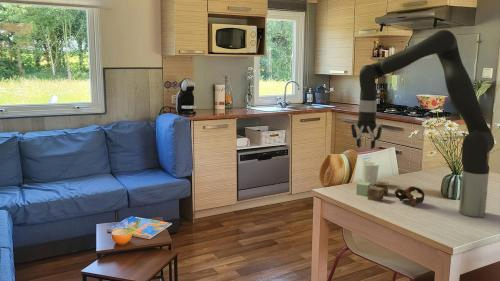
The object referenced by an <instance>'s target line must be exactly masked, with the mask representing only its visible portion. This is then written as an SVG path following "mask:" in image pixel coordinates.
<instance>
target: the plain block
mask: <svg viewBox="0 0 500 281" xmlns="http://www.w3.org/2000/svg"><path fill="white" fill-rule="evenodd" d="M370 187H372V185H371V183H367V182H362V181H361V180H360V181H359V182H357V183H356V190H355V191H356V192H355V194H356V195H357V196H364V197H368V188H370Z"/></svg>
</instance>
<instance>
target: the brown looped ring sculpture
mask: <svg viewBox="0 0 500 281" xmlns="http://www.w3.org/2000/svg"><path fill="white" fill-rule="evenodd" d="M414 191H417V193H418V194H421V196H420V197H418V196H416V197H415V196H414V195H413V194H412V192H414ZM394 195H395V197H396V198H398V199H399V201H400V202H402V201H403V200H410V201H411V202H410V203H409V205H410V206H411V207H415V206H416V205H420V204H422V203H423V202H424V201H425V193H424V191H423V190H422V189H421V188H419V187H416V186H409V187H408V188H405V189H402V188H397V189H396V190H395V191H394ZM414 197H415V198H414Z"/></svg>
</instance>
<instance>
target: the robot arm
mask: <svg viewBox="0 0 500 281" xmlns="http://www.w3.org/2000/svg"><path fill="white" fill-rule="evenodd" d="M431 55H436V56H437V57H438V59H439V62H440V64H441V67H442V69H443V73H444V74H443V75H444V81H445V86H446V90H447V93H448V96H449V99H450V101H451V102H450V103H452V106H453V107H454V109H455V110H456V112H457V113H458V114H459V116H460V117H461V118H462V120H463V121H464V124H465V125H466V129H467V131H468V132H467V134H466V135H465V137H463V142H462V147H461V164H462V173H461V174H462V175H461V184H460V186H461V187H460V196H459V206H458V207H459V208H458V213H460V214H461V215H464V216H467V217H473V218H484V217H485V215H486V209H487V208H486V207H487V199H488V198H487V197H488V183H489V175H490V165H489V164H488V153H489V152H491V151H492V150H493V148H494V147H495V138H494V135H493V133H492V131H491V129H490V128H489V125H488V123H487V121H486V119H485V117H484V115H483V111H482V107H481V104H480V102H479V99H478V97H477V96H478V95H477V93H476V90H475V88H474V85H473V82H472V80H471V77H470V76H469V73H468V71H467V69H466V68H465V66H464V64H463V62H462V58H461V53H460V49H459V45H458V40H457V37H456V36H455V35H454V33H453V32H452V31H450V30H447V29H442V30H438V31H436V32H435V33H433V34H431V35H430V36H428V37H426V38H425V39H423V40H421V41H420V42H417V43H415V44H414V45H412V46H409V47H408V48H405V49H402V50H400V51H398V52H396V53H393V54H390V55H389V56H385V57H384V58H382V59H381V60H379V61H376V62H374V63H372V64H366V65H363V66H362V67H361V68H360V70H359V88H360V91H359V104H358V105H359V106H358V121H357V123H352V124H351V125H350V128H351V135H352V138H354V139H356V147H357V148H361V147H362V135H363V134H369V137H370V139H371V140H370V150H373V149H374V148H375V147H376V141H377V140H380V139H381V135H382V131H383V126H382V125H378V124H377V123H376V122H377V107H378V105H377V94H378V93H377V88H376V80H377V79H379V78H382V77H383V76H386V75H388V74H391V73H395V72H398V71H400V70H402V69H405V68H406V67H408V66H410V65H412V64H413V63H415V62H417V61H418V60H421V59H423V58H425V57H429V56H431ZM357 128H358V130H359V131H358V132H357ZM374 130H376V131H377V132H376V134H375V131H374Z"/></svg>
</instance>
